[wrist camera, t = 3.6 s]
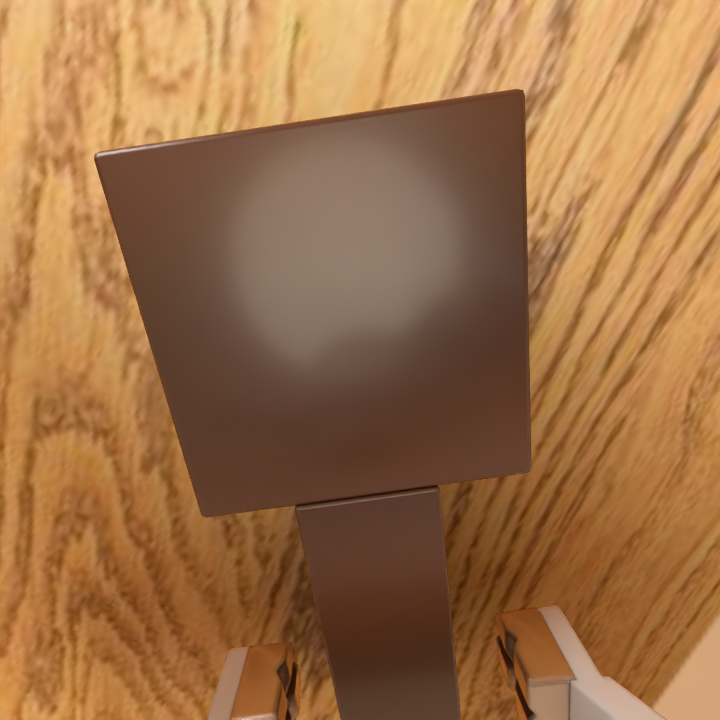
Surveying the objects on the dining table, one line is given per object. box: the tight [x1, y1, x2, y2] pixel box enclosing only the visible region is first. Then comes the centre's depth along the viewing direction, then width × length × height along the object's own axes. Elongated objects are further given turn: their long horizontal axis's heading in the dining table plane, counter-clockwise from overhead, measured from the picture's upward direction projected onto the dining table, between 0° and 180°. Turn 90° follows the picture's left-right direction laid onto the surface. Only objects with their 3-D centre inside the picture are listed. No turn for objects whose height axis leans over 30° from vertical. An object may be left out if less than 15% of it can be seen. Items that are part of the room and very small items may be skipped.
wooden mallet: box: [94, 89, 531, 720], centre depth 8 cm, size 14×5×4 cm, turn 8°
